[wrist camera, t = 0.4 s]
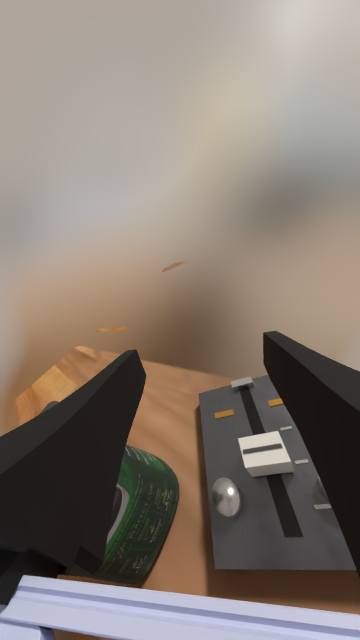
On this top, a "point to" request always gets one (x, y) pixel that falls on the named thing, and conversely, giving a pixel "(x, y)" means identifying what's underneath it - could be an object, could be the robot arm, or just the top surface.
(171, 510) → the coffee jar
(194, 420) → the top surface
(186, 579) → the top surface
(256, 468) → the fader cap
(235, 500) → the console
